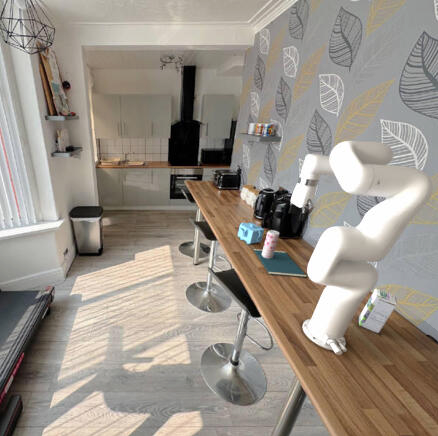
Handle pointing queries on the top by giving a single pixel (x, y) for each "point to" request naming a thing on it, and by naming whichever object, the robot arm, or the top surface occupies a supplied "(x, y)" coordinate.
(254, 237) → the light blue box
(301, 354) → the top surface
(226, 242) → the top surface
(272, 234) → the beverage can
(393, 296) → the syrup box
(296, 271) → the teal book
